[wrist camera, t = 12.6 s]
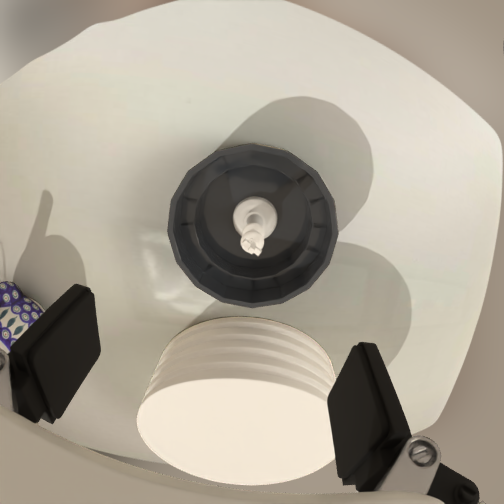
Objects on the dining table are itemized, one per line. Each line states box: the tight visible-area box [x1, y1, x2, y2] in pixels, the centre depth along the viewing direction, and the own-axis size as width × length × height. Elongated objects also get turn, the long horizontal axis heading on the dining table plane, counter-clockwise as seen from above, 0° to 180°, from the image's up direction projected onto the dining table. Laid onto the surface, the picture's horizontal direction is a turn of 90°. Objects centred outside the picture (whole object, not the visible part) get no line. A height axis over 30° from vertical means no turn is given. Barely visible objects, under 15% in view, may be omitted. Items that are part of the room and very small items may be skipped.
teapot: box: [0, 281, 45, 354], centre depth 35 cm, size 25×15×15 cm, turn 174°
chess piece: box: [233, 197, 278, 256], centre depth 28 cm, size 5×5×10 cm
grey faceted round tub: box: [167, 143, 338, 308], centre depth 31 cm, size 16×16×6 cm
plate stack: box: [137, 317, 336, 485], centre depth 38 cm, size 28×28×12 cm
